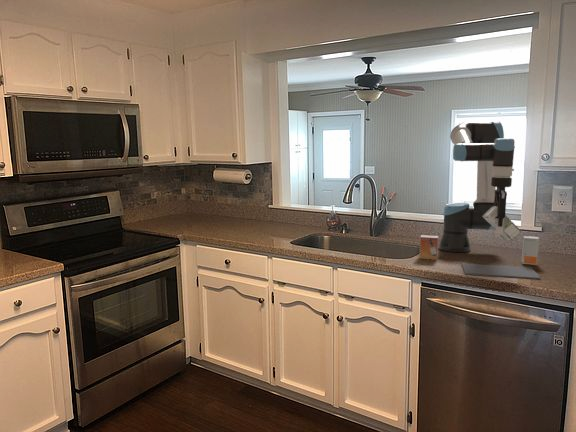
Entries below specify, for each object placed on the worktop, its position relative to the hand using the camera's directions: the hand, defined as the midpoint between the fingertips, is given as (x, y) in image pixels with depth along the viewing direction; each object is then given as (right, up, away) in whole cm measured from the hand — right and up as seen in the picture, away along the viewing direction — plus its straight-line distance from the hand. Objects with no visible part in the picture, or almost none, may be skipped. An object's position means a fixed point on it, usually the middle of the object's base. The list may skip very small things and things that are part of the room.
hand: (497, 232), depth 194 cm
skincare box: (+20, -15, +14) cm, 29 cm away
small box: (-21, -13, +26) cm, 36 cm away
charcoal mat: (+1, -17, +2) cm, 17 cm away
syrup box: (+6, -2, -2) cm, 7 cm away
